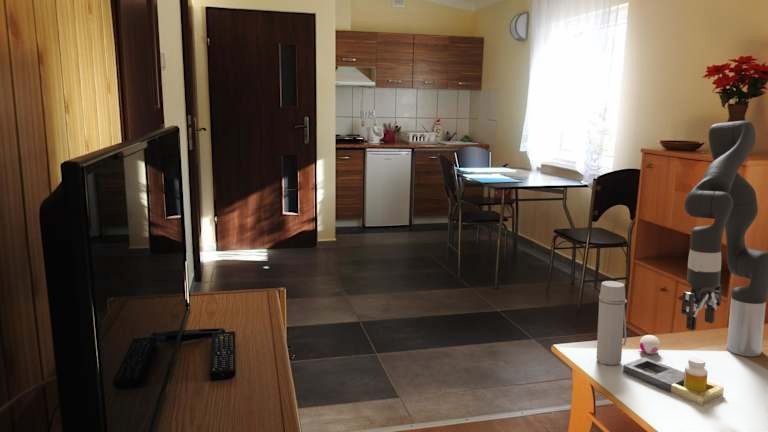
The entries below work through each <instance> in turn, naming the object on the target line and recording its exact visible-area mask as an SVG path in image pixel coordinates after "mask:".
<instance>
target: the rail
mask: <svg viewBox="0 0 768 432" xmlns="http://www.w3.org/2000/svg"><path fill="white" fill-rule="evenodd" d="M645 370H650V371H653V372H654V373H657V374H652V373H649V372H647V371H645ZM622 374H625V375H627V376H629V377H631V378H634V379H637V380H638V381H641V382H643V383H645V384H648V385H650V386H652V387H655V388H657V389H659V390H662V391H664V392H667V393H669V394H671V395H674V396H676V397H677V398H678V397H679V398H681V399H683V400H685V401H688V402H690V403H692V404H694V405H697V406H700V407H704V406H706V405H708V404H710V403H713V402H715V401H716V400H718V399H721V398H722V397H724V389H725V387H724V386H721V385H718V384H716V383H712V382H710V381H708V380H707V385H706V391H705V392H703V393H701V394H699V393H697V392H695V391H692V390H690V389H687V388H685V387H684V374H685V371H681V370H679V369H677V368H673V367H671V366H668V365H666V364H663V363H660V362H658V361H657V360H656V361H655V360H652V359H650V358H648V357H642V358H639V359H636V360H633V361H630V362H628V363H625V364H623V365H622Z"/></svg>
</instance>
